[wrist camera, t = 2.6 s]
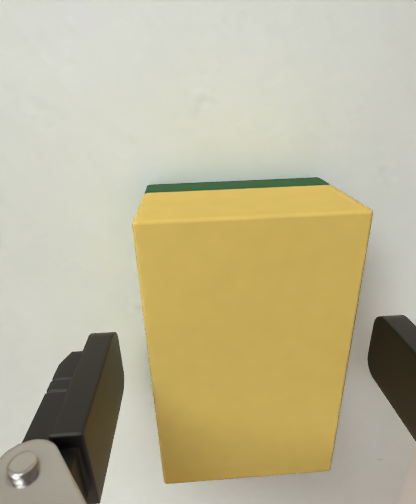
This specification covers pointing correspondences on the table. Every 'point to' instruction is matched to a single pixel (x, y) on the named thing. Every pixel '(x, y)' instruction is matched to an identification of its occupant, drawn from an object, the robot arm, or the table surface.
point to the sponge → (248, 321)
